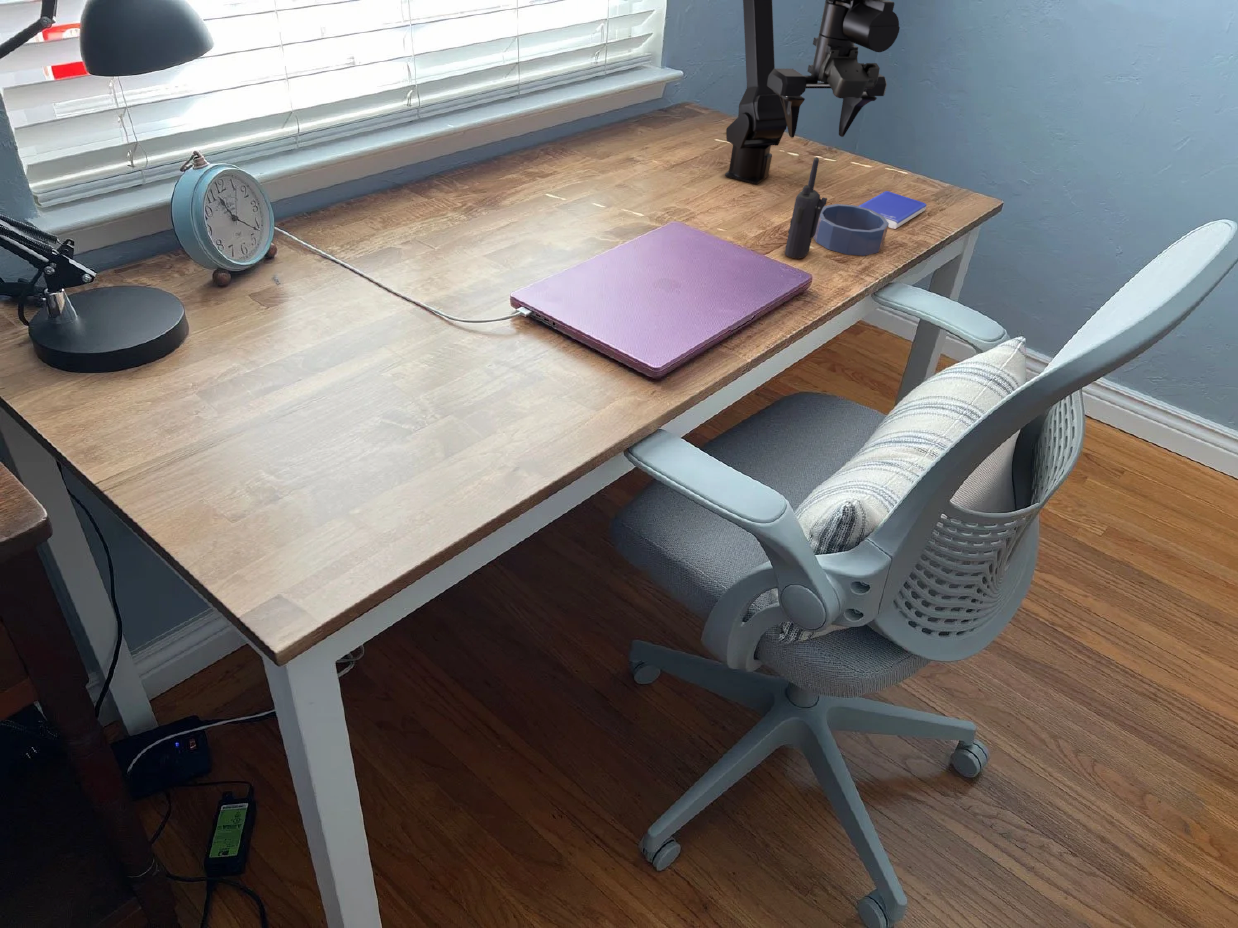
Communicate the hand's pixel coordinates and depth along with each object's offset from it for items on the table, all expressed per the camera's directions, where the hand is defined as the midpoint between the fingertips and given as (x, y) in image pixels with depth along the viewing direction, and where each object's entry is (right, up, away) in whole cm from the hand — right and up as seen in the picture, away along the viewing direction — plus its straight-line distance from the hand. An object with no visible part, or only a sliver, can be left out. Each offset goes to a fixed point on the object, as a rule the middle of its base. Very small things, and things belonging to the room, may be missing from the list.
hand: (816, 136), depth 157 cm
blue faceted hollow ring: (+5, -17, -1) cm, 18 cm away
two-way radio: (-4, -21, -7) cm, 23 cm away
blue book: (+15, -10, +11) cm, 21 cm away
